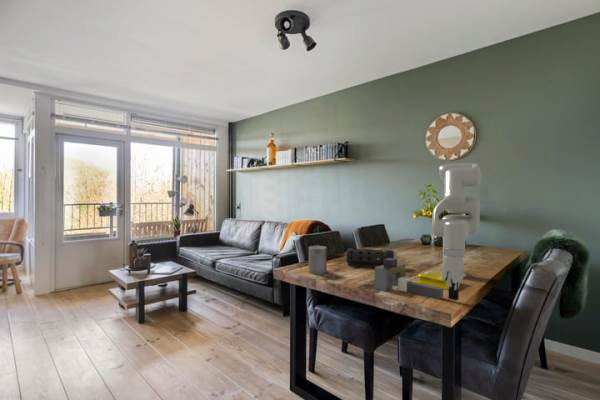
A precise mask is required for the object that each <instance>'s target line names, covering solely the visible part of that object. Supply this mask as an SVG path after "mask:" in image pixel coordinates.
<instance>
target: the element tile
mask: <svg viewBox="0 0 600 400" xmlns="http://www.w3.org/2000/svg"><path fill="white" fill-rule="evenodd" d="M440 271H441V270H434V269H430V270H426V271H424V272H421V273H418V275H417V283H421V284H426V285H430V286H435V287H439V288H443V290H449V289H448V286H447V281H445V282H444V281H443V280H442V272H440ZM460 285H461V281H460V282H459V286H460Z"/></svg>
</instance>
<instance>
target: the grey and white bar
mask: <svg viewBox="0 0 600 400" xmlns="http://www.w3.org/2000/svg"><path fill="white" fill-rule="evenodd" d="M397 290H398V291H402V292H406V293H411V294H415V295H419V296H423V297H427V298H430V299H434V300H439V301H440V300H442V299H443V298H444V289H443V288H439V287H435V286H430V285H426V284H421V283H418V282H417V281H416V282H415V281H412V279H411V278H410V277H406V276H405V277H401V278H398V286H397Z"/></svg>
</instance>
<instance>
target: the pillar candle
mask: <svg viewBox="0 0 600 400" xmlns="http://www.w3.org/2000/svg"><path fill="white" fill-rule="evenodd" d="M327 261H328V260H327V246H325V245H319V244H317V245H311V246H308V274H311V275H325V274H327V271H328V270H327Z"/></svg>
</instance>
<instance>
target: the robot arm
mask: <svg viewBox="0 0 600 400" xmlns="http://www.w3.org/2000/svg"><path fill="white" fill-rule="evenodd" d="M438 173H439V174H438V175H439V177H440V180H441V181H442V183H443V198H442V199H441V200H440V201H438V203H437V204H435V206H434V208H433V210H432V214H431V232H432V234H433V235H434V236H436V237H441V238H442V270H439V271H440V272H442V280H443V281H444V282H445V281H447V286H448V289H447V290H448V299H449V300H452V301H453V300H454V301H457V300H459V299H460V298H459V297H460V296H459V293H460V291H459V289H460V285H459V282H460V283H461V281H462V280H463V279H464V278H466V277H467V274H466V273H465V272H464V268H465V267H464V258H465V257H466V238H467V237H468V235H476V234H478V233H479V231H480V226H481V225H480V224H481V223H480V221H481V220H480V219H481V202H480V198H479V197H478V196H477V195H475V194H474V195H473V194H466V187H478V186H479V185H480V183H481V182H482V172H481V168H480V166H479V164H478V163H476V162H465V163H461V162H459V163H458V162H457V163H445V164H441V165H440V166H439V167H438ZM443 212H447V213H449V214H447V215H444V216H443V217H442V218H440V215H441V214H442V213H443ZM464 214H465V215H464ZM466 214H467V215H466Z"/></svg>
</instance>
